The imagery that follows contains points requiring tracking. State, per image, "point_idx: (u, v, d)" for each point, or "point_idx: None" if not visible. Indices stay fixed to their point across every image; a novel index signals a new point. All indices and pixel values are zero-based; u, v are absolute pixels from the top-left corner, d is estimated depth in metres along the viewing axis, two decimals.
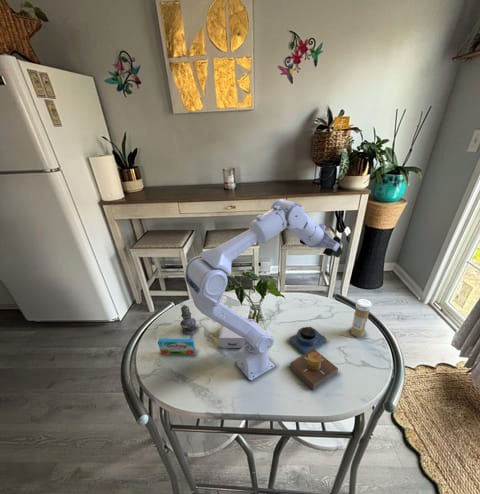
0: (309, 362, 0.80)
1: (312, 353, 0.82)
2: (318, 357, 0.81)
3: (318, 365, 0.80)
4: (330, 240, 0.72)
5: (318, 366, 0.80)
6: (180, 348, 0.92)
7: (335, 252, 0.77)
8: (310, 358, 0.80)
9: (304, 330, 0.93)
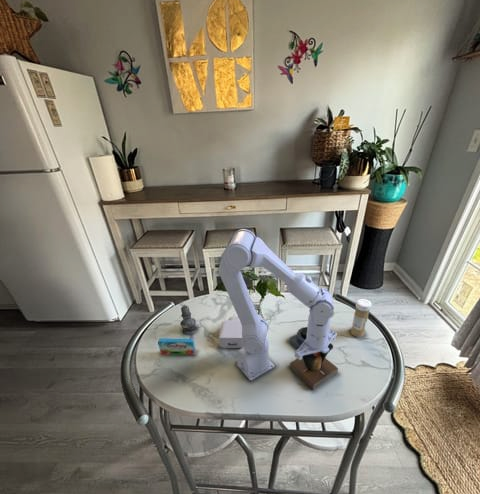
0: None
1: None
2: (318, 357, 0.81)
3: (318, 365, 0.80)
4: (305, 352, 0.75)
5: (318, 366, 0.80)
6: (180, 348, 0.92)
7: (306, 360, 0.80)
8: None
9: (304, 330, 0.93)
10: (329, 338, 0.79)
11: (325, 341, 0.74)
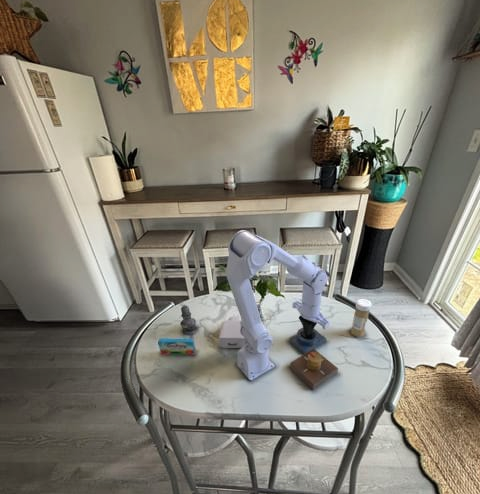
0: (319, 363, 0.80)
1: (310, 358, 0.81)
2: (314, 354, 0.82)
3: None
4: (323, 319, 0.85)
5: None
6: (180, 348, 0.92)
7: (309, 328, 0.90)
8: (317, 360, 0.80)
9: None
10: None
11: None
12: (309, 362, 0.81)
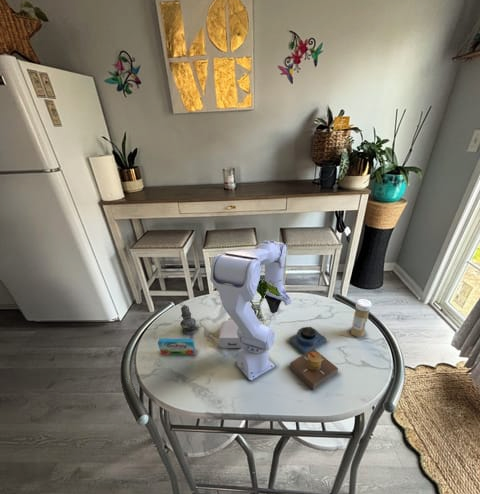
0: (319, 363, 0.80)
1: (310, 358, 0.81)
2: (314, 354, 0.82)
3: None
4: (285, 296, 0.85)
5: None
6: (180, 348, 0.92)
7: (274, 306, 0.91)
8: (317, 360, 0.80)
9: (304, 330, 0.93)
10: None
11: None
12: (309, 362, 0.81)
